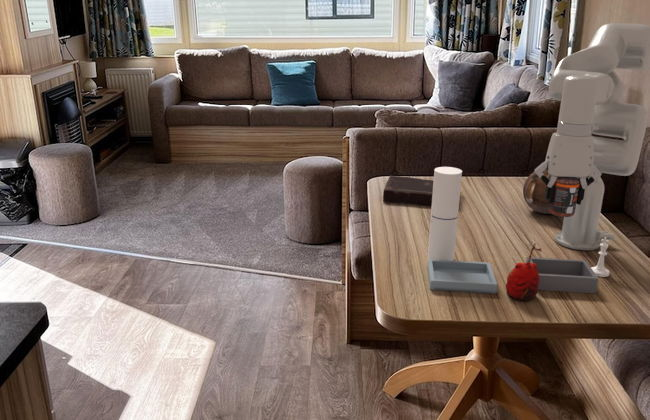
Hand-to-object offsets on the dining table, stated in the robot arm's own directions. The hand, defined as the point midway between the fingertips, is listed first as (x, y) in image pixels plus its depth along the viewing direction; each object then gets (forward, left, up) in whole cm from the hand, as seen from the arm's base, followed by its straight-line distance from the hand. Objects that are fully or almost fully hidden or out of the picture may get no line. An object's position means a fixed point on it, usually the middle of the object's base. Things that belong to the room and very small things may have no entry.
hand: (563, 201), depth 154 cm
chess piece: (-14, -7, -22) cm, 27 cm away
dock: (-2, 0, -22) cm, 22 cm away
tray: (+23, +2, -22) cm, 32 cm away
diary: (+30, -65, -22) cm, 75 cm away
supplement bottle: (0, 0, -3) cm, 3 cm away
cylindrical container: (+27, -11, -22) cm, 36 cm away
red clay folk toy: (+9, +9, -22) cm, 25 cm away
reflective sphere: (-10, -54, -22) cm, 59 cm away
